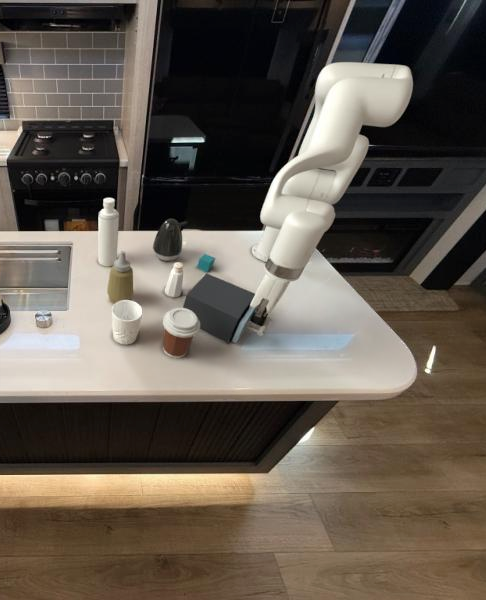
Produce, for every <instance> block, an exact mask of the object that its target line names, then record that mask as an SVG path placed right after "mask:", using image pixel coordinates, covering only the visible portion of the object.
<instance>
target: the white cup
mask: <svg viewBox="0 0 486 600" xmlns="http://www.w3.org/2000/svg"><path fill="white" fill-rule="evenodd" d="M142 316H143V308H142V306H141V305H140V304H139V303H137V301H135V300H131V299H130V300H122V301H119V302H117V303H115V304H113V305H112V307H111V326H112V327H111V329H112V338H113V339H114V341H115V342H116V343H118V344H120V345H126V346H127V345H131V344H133V343H135V341H136V340H137V337H138V333H139V330H140V326H141V321H142Z"/></svg>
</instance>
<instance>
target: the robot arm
mask: <svg viewBox="0 0 486 600" xmlns="http://www.w3.org/2000/svg"><path fill="white" fill-rule="evenodd" d="M413 87H414V81H413V75H412V71H411V68H410V67H409V66H407V65H404V64H403V65H402V64H393V63H392V64H389V63H370V62H358V61H357V62H356V61H355V62H353V61H340V62H333V63H329V64H327V65H326V66H324V67H323V68H322V69H321V71H320V72H319V74H318V76H317V79H316V82H315V87H314V88H315V89H314V101H315V107H314V113H313V117H312V119H311V121H310V123H309V126H308V128H307V131H306V133H305V136H304V138H303V141H302V143H301V145H300V148H299V151H298V155H297V156H295V157H294V158H292V159H291V160H290V161H288V162H287V163H286V164H285V165H283V167H281V169H280V170H279V171H278V172H277V173H276V175H275V177H274V178H273V180H272V182H271V184H270V187H269V188H268V191H267V194H266V196H265V199H264V202H263V204H262V208H261V211H260V215H259V218H260V222H261V223H262V225H264V226H265V229H264V231H263V233H262V235H261V238H260V240H259V242H258V243H256V244H254V245H253V246H252V248H251V253H252V255H253V256H254V257H255V258H256V259H258V260H260V261H262V262H264V263H265V264H264V266H263V269H264V271H265V274H264V276H263V278H262V279H261V282H260V283H259V286H258V288H257V290H256V292H255V296H254V298H253V300H252V302H251V304H250V307H253V308H255V307H256V306H257V307H256V309H255V310H254V312H253V314H252V317H251V319H250V323H252V324H254V325H256V326H258V327H261V326H262V325H263V323H264V322H265V320H266V318H267V317H269V314H271V313H272V311H273V309H274V308H275V307H276V306H277V304H278V303H279V302H280V300H281V298H282V297H283V295H284V293H285V292H286V290H287V288H288V287H289V284H290V283H291V282H295V281H297V280H299V279H300V277H301V275H302V273H303V272H304V270H305V268H306V267H307V264H308V263H309V261H310V259H311V257H312V255H313V253H314V252H315V250H316V248H317V246H318V244H319V243H320V241H321V239H322V237H323V236H324V234H325V232H327V231H328V230H329V229H330V228H331V226H332V224H333V223H334V220H335V217H336V212H335V208H334V206H333V205H335V204H337V203H338V202H339V201H340V200H341V198H342V197H343V196H344V194H345V192H346V191H347V189H348V187H349V186H350V184H351V183H352V181H353V178H354V177H355V175H356V174H357V172H358V170H359V169H360V167H361V165H362V163H363V161H364V159H365V158H366V155H367V153H368V151H369V147H370V142H369V138H368V137H367V136H365V135H362V134H360V133H361V129H362V127H363V126H370V127H378V128H387V127H390V126H392V125H394V124H395V123H396V122H397V121H399V119H401V117H402V115H403V114H404V112H405V111H406V109H407V107H408V105H409V103H410V100H411V97H412V93H413V89H414V88H413Z"/></svg>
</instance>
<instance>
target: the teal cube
mask: <svg viewBox="0 0 486 600" xmlns="http://www.w3.org/2000/svg"><path fill="white" fill-rule="evenodd" d="M215 260H216V257H214V256H212V255H209V254H206V253H203V255H201V257H199V259H198V263H197V265H196V266H197V267H196V269H199V270H201V271H204V272H206V273H208V272H209V271H210V270H211V269H212V268H213V267H214V263H215Z"/></svg>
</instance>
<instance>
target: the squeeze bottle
mask: <svg viewBox="0 0 486 600" xmlns="http://www.w3.org/2000/svg"><path fill="white" fill-rule="evenodd" d="M106 293H107V295H108V298H109V300H110V302H111V303H112V304H113V305H114V304H115V303H117V302H119V301H122V300H131V299H132V297H133V295H134V270H133V268H132V266H131V262H130V260H129V259H127V255H126V251H124V250H121V251H120V252H119V256H118V258H117V260H115V261H114V265H113V266H111V267H110V270H109V277H108V283H107V291H106Z"/></svg>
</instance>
